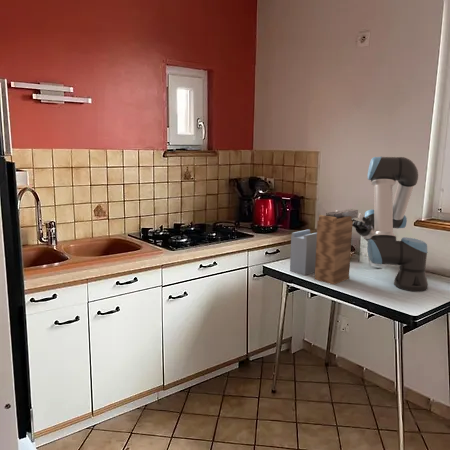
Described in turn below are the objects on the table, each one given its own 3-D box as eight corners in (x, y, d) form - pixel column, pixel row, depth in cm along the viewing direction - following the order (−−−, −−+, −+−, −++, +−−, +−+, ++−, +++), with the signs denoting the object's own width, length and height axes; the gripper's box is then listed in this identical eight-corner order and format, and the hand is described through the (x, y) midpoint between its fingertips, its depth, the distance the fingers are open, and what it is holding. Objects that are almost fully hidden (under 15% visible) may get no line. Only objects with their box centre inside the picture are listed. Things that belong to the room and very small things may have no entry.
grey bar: (358, 217, 235) (359, 210, 234) (334, 222, 220) (334, 214, 220) (349, 216, 239) (350, 208, 238) (325, 221, 224) (325, 213, 223)
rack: (320, 270, 246) (322, 232, 242) (305, 275, 237) (306, 235, 233) (305, 266, 254) (307, 229, 250) (289, 271, 244) (291, 232, 240)
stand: (348, 278, 232) (353, 214, 226) (333, 284, 222) (337, 217, 216) (330, 274, 240) (334, 212, 234) (314, 279, 230) (317, 214, 224)
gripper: (384, 239, 238) (367, 223, 223) (342, 232, 256) (324, 217, 241) (388, 226, 239) (371, 209, 225) (347, 220, 257) (329, 204, 243)
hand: (347, 213), depth 233 cm, fingers open, 13 cm apart
